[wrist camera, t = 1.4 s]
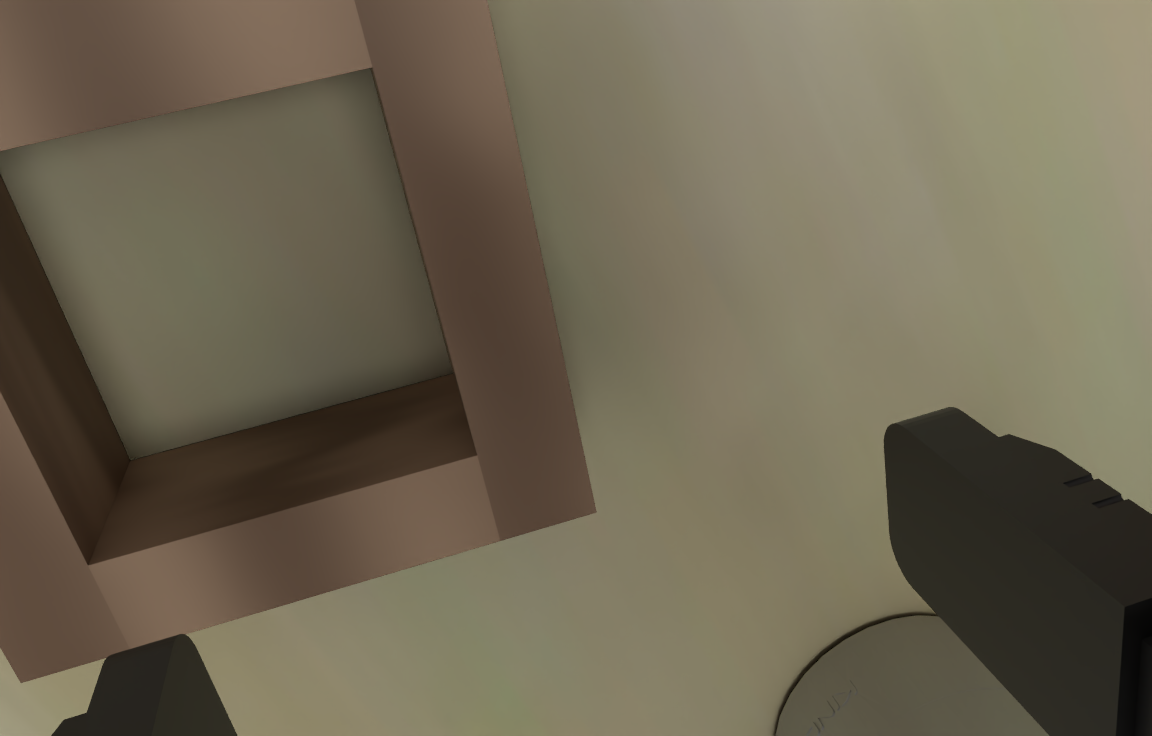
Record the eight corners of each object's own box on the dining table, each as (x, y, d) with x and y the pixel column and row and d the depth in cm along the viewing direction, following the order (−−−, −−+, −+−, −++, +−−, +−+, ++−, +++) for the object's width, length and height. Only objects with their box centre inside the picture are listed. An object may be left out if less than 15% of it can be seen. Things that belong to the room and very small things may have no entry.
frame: (439, -86, 22) (465, -98, 18) (554, 425, 28) (596, 512, 24) (-192, 43, 21) (-336, 66, 16) (73, 561, 27) (20, 683, 22)
